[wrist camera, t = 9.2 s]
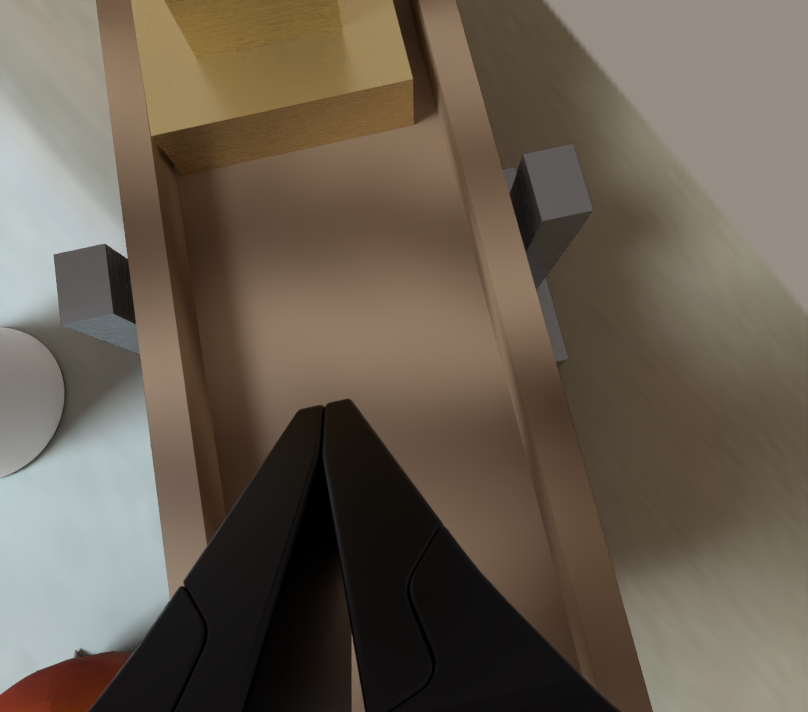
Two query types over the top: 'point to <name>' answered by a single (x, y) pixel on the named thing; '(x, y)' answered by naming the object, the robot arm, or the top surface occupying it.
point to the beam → (367, 336)
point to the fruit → (64, 684)
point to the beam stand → (533, 206)
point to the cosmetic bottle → (26, 399)
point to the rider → (268, 76)
